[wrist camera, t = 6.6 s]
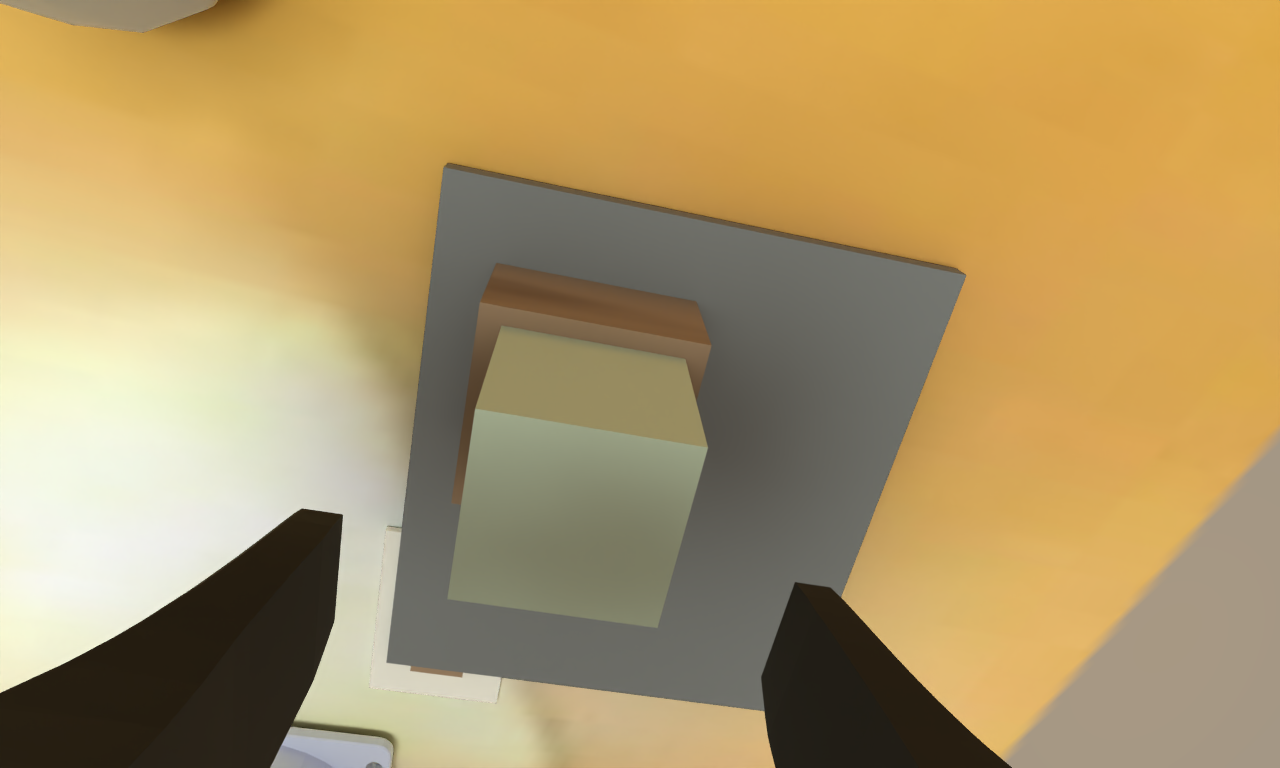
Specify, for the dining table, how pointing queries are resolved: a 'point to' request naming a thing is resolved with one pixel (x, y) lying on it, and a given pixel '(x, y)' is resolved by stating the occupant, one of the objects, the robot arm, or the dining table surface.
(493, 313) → the walnut block
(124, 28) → the salt shaker
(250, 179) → the dining table surface
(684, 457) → the sage block
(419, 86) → the dining table surface
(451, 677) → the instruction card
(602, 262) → the slate mat
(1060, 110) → the dining table surface
